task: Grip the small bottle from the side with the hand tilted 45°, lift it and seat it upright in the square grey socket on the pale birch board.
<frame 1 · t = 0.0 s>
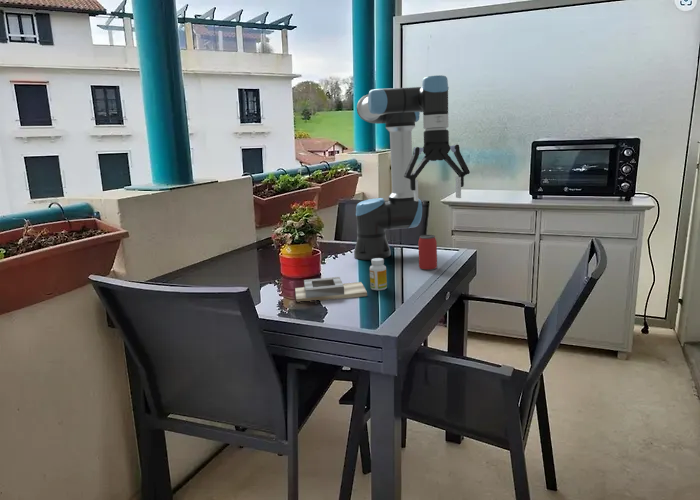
hand: (437, 199, 158), 28 cm above the table, tool pointing down, fingers open, 13 cm apart
beer can: (428, 268, 186), on the table
socket board: (330, 293, 163), on the table
supplement bottle: (378, 288, 165), on the table
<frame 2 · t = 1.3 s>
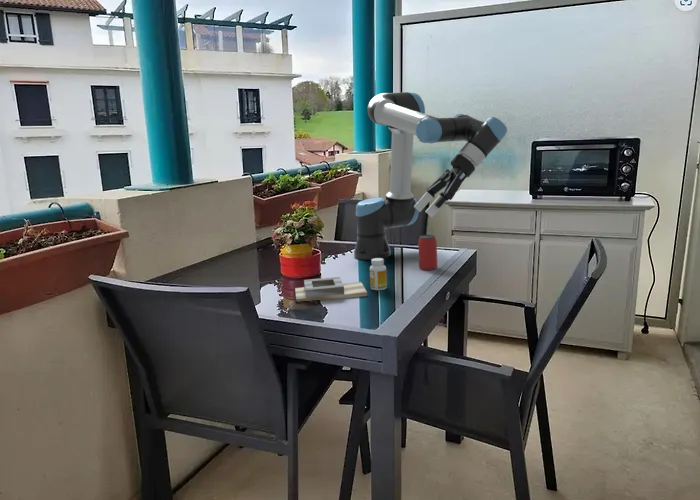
hand: (422, 212, 161), 24 cm above the table, tool tilted 45°, fingers open, 13 cm apart
nothing on the table moved.
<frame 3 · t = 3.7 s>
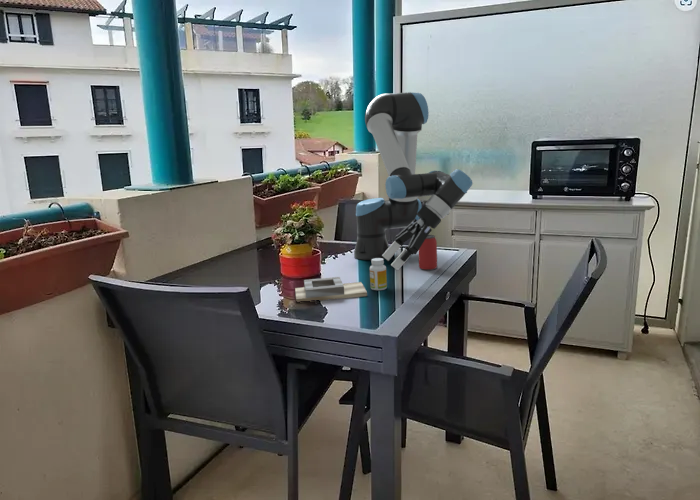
hand: (389, 262, 163), 8 cm above the table, tool tilted 45°, fingers open, 13 cm apart
nothing on the table moved.
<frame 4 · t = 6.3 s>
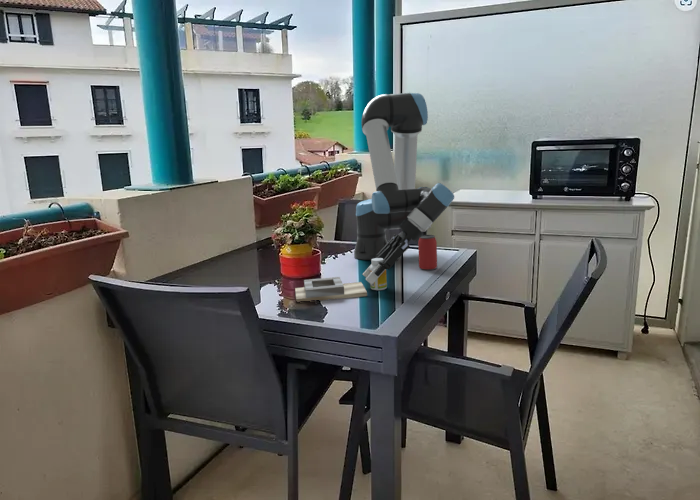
hand: (367, 279, 164), 3 cm above the table, tool tilted 45°, fingers closed on supplement bottle, 5 cm apart
supplement bottle: (378, 288, 165), on the table, touching gripper
everything else where it was.
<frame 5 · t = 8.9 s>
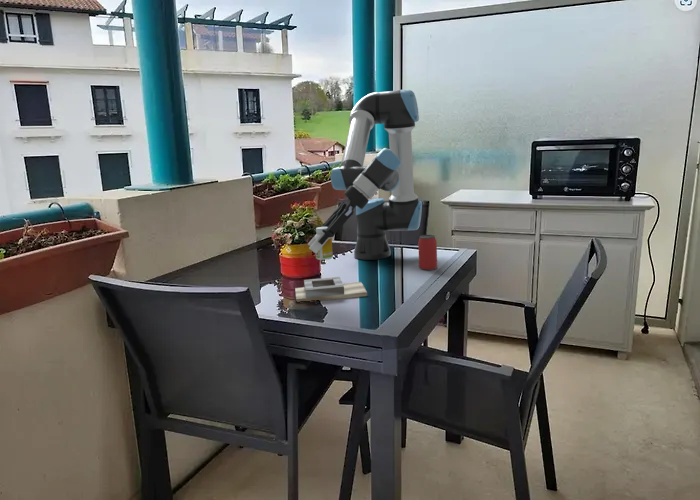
hand: (311, 248, 158), 15 cm above the table, tool tilted 45°, fingers closed on supplement bottle, 5 cm apart
supplement bottle: (324, 258, 160), point 12 cm above the table, touching gripper
everything else where it was.
when the fingers open (6 cm above the table, at t = 11.9 s): supplement bottle drops 1 cm, resting on socket board.
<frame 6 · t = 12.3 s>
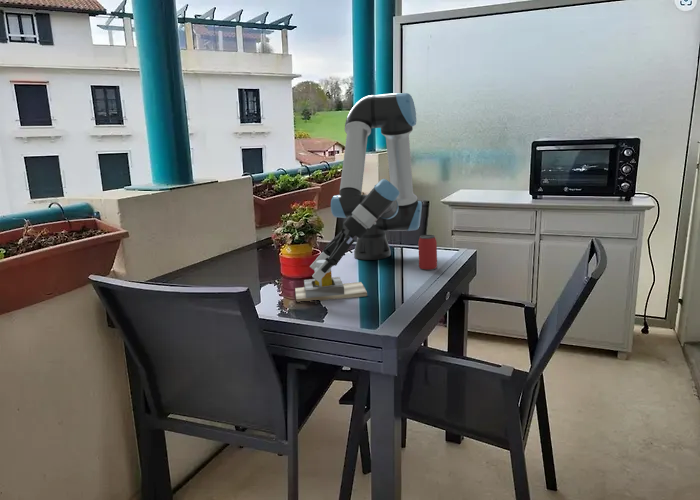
hand: (314, 273, 160), 7 cm above the table, tool tilted 45°, fingers open, 11 cm apart
supplement bottle: (324, 291, 162), point 1 cm above the table, touching socket board
everything else where it was.
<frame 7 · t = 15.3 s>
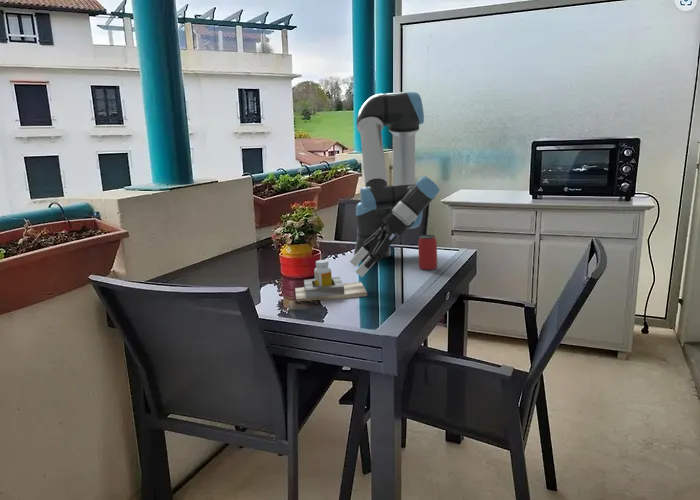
hand: (355, 269, 162), 7 cm above the table, tool tilted 45°, fingers open, 13 cm apart
nothing on the table moved.
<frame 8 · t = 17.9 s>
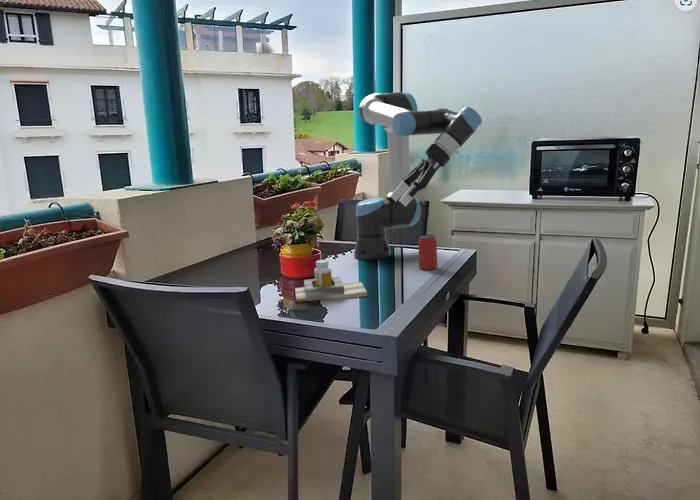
hand: (397, 201, 162), 28 cm above the table, tool tilted 45°, fingers open, 13 cm apart
nothing on the table moved.
at the end: supplement bottle 0.1 cm from the target spot on the socket board, point 1.0 cm above the socket board's base; supplement bottle tilted 0°; the gripper is holding nothing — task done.
